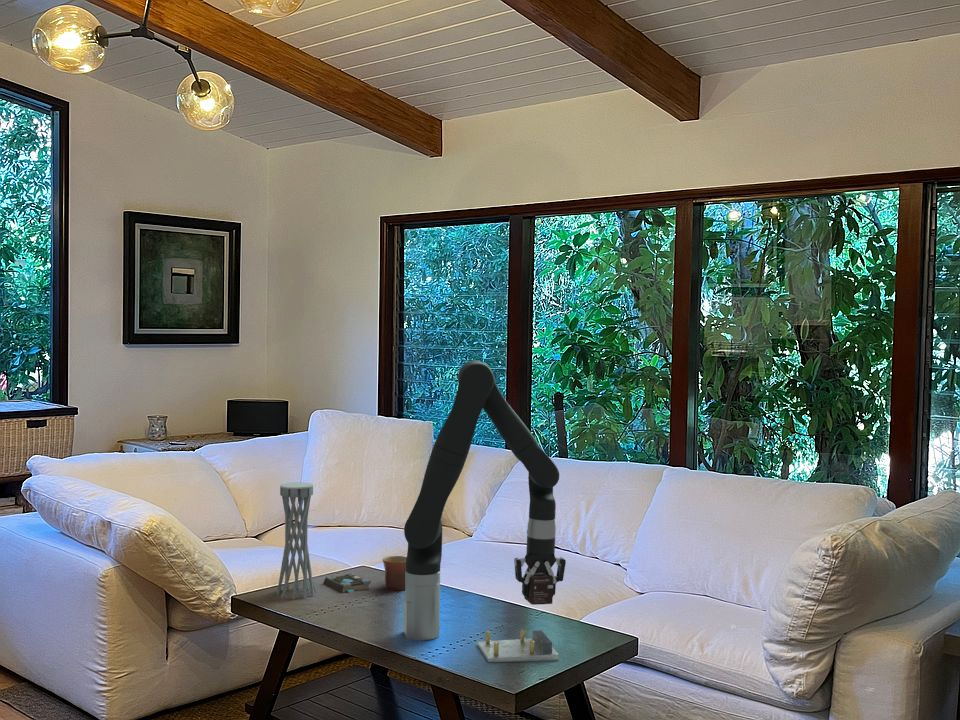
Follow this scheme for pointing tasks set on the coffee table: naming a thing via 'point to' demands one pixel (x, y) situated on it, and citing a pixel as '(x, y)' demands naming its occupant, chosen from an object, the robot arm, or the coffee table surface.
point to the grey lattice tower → (296, 537)
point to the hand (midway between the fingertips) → (538, 596)
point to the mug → (394, 573)
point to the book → (347, 583)
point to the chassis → (519, 648)
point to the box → (540, 589)
